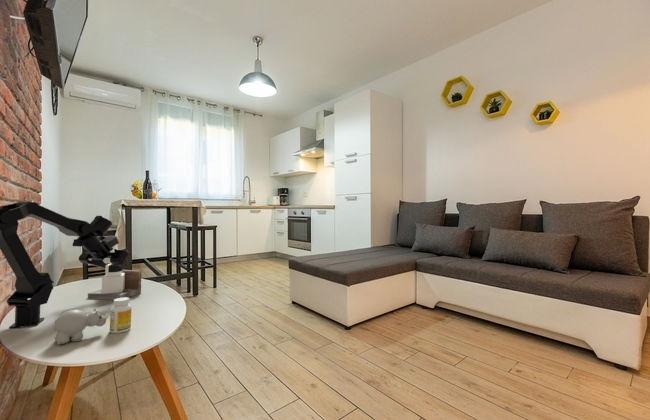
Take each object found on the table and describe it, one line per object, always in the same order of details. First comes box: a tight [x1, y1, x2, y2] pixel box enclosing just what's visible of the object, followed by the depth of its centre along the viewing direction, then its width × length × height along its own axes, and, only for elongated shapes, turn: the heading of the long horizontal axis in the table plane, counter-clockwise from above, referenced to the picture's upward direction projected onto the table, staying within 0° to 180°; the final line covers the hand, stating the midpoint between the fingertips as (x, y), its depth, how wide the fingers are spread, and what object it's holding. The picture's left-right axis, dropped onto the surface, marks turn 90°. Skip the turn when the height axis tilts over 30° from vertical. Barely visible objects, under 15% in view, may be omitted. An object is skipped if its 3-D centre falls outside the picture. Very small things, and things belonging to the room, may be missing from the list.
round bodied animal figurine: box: [53, 308, 109, 345], centre depth 85 cm, size 7×12×8 cm, turn 136°
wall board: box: [87, 269, 143, 301], centre depth 127 cm, size 12×15×10 cm
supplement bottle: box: [109, 297, 132, 334], centre depth 91 cm, size 5×5×10 cm
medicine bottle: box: [101, 262, 125, 294], centre depth 127 cm, size 7×7×12 cm
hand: (115, 267), depth 127 cm, fingers open, 9 cm apart
